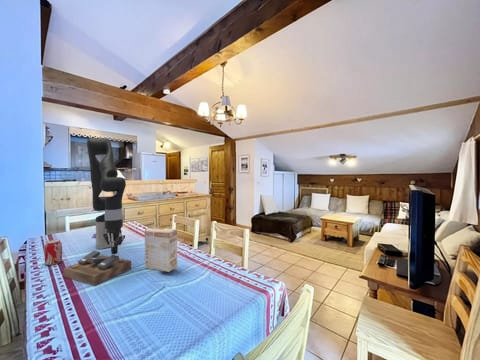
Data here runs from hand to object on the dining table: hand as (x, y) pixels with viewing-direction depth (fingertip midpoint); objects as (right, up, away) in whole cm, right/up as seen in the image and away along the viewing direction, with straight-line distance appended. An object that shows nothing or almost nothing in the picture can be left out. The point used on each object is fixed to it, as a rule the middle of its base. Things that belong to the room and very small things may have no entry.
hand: (114, 253), depth 101 cm
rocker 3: (-1, -3, -3) cm, 4 cm away
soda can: (-40, -9, +11) cm, 42 cm away
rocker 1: (-14, -3, +3) cm, 15 cm away
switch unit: (-8, -9, 0) cm, 12 cm away
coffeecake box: (+21, -9, +6) cm, 23 cm away
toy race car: (-44, -9, +59) cm, 74 cm away
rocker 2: (-8, -3, 0) cm, 8 cm away
